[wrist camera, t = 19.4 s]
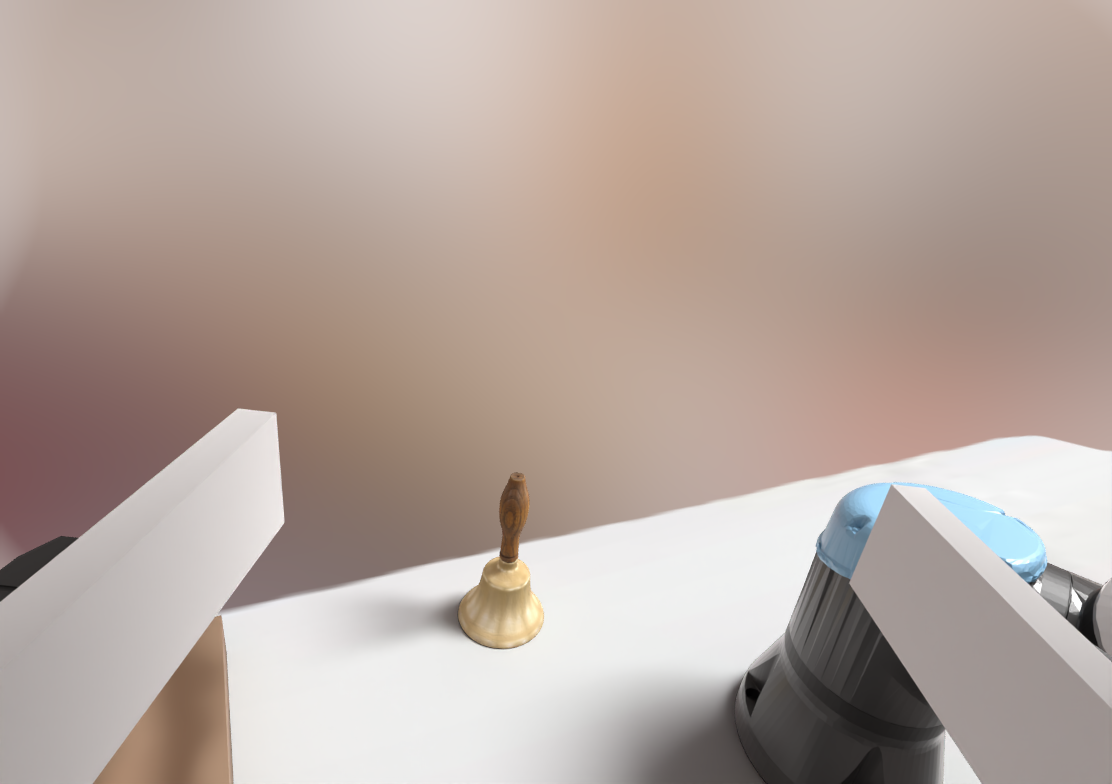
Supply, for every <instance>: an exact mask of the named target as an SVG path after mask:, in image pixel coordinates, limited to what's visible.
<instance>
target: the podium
mask: <svg viewBox="0 0 1112 784" xmlns="http://www.w3.org/2000/svg"><path fill="white" fill-rule="evenodd" d="M93 784H233V766H232V747H231V728H230V710H229V691H228V672H227V654H226V645H225V638H224V631H223V624H222V617H221V616H217V617H215V618H214V619H213V620H212V622H211V623H210V625H209V626H208V627H207V629H206V630H205V631H204V633H203V634H202V635H201V637H200V638H199V640H198V641H197V642H196V644H195V645H194V646H193V648H192V649H191V650H190V652H189V653H188V655H187V656H186V657H185V659H184V660H183V661H182V663H181V664H180V665H179V667H178V668H177V669H176V671H175V672H174V674H173V675H172V676H171V678H170V679H169V680H168V682H167V683H166V684H165V686H164V687H163V689H162V690H161V691H160V693H159V694H158V695H157V697H156V698H155V699H154V701H153V702H152V704H151V705H150V706H149V708H148V709H147V710H146V712H145V713H144V714H143V716H142V717H141V719H140V720H139V721H138V723H137V724H136V725H135V727H134V728H133V729H132V731H131V732H130V734H129V735H128V736H127V738H126V739H125V740H124V742H123V743H122V744H121V746H120V747H119V749H118V750H117V751H116V753H115V754H114V755H113V757H112V758H111V759H110V761H109V762H108V763H107V765H106V766H105V768H104V769H103V770H102V772H101V773H100V774H99V776H98V777H97V778H96V780H95V781H94V783H93Z"/></svg>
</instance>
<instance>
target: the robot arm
mask: <svg viewBox="0 0 1112 784" xmlns="http://www.w3.org/2000/svg"><path fill="white" fill-rule="evenodd" d="M283 524H284V511H283V498H282V485H281V471H280V458H279V445H278V432H277V419H276V413H272V412H264V411H254V410H246V409H237V410H236V411H235V412H233V413H232V414H231V415H230V416H228V417H227V418H226V419H225V420H224V421H222V422H221V423H220V424H219V425H217V426H216V427H215V428H214V429H212V430H211V431H210V432H209V433H208V434H206V435H205V436H204V437H203V438H201V439H200V440H199V441H198V442H196V443H195V444H194V445H193V446H192V447H191V448H189V449H188V450H187V451H185V452H184V453H183V454H182V455H180V456H179V457H178V458H177V459H176V460H174V461H173V462H172V463H171V464H169V465H168V466H167V467H166V468H164V469H163V470H162V471H161V472H160V473H158V474H157V475H156V476H155V477H153V478H152V479H151V480H150V481H148V482H147V483H146V484H145V485H144V486H142V487H141V488H140V489H139V490H137V491H136V492H135V493H134V494H132V495H131V496H130V497H129V498H128V499H126V500H125V501H124V502H123V503H121V504H120V505H119V506H118V507H116V508H115V509H114V510H113V511H112V512H110V513H109V514H108V515H107V516H105V517H104V518H103V519H102V520H101V521H99V522H98V523H97V524H96V525H94V526H93V527H92V528H91V529H89V530H88V531H87V532H86V533H84V534H83V535H82V536H81V537H80V538H74V537H65V536H60V537H58V538H56V539H54V540H52V541H50V542H48V543H45V544H44V545H41V546H39V547H37V548H35V549H33V550H31V551H29V552H27V553H25V554H23V555H21V556H18V557H17V558H16V559H14V560H13V561H12V562H10V563H9V564H8V565H6V566H5V567H4V568H2V569H1V570H0V784H93V783H94V781H95V780H96V778H97V777H98V776H99V774H100V773H101V772H102V770H103V769H104V768H105V766H106V765H107V763H108V762H109V761H110V759H111V758H112V757H113V755H114V754H115V753H116V751H117V750H118V749H119V747H120V746H121V744H122V743H123V742H124V740H125V739H126V738H127V736H128V735H129V734H130V732H131V731H132V729H133V728H134V727H135V725H136V724H137V723H138V721H139V720H140V719H141V717H142V716H143V714H144V713H145V712H146V710H147V709H148V708H149V706H150V705H151V704H152V702H153V701H154V699H155V698H156V697H157V695H158V694H159V693H160V691H161V690H162V689H163V687H164V686H165V684H166V683H167V682H168V680H169V679H170V678H171V676H172V675H173V674H174V672H175V671H176V669H177V668H178V667H179V665H180V664H181V663H182V661H183V660H184V659H185V657H186V656H187V655H188V653H189V652H190V650H191V649H192V648H193V646H194V645H195V644H196V642H197V641H198V640H199V638H200V637H201V635H202V634H203V633H204V631H205V630H206V629H207V627H208V626H209V625H210V623H211V622H212V620H213V619H214V618H215V616H216V615H217V614H218V612H219V611H220V610H221V608H222V607H223V605H224V604H225V603H226V601H227V600H228V599H229V597H230V596H231V595H232V593H233V592H234V590H235V589H236V588H237V586H238V585H239V584H240V582H241V581H242V579H243V578H244V577H245V575H246V574H247V573H248V571H249V570H250V569H251V567H252V566H253V565H254V563H255V562H256V560H257V559H258V558H259V556H260V555H261V554H262V552H263V551H264V549H265V548H266V547H267V546H268V544H269V543H270V541H271V540H272V539H273V537H274V536H275V535H276V533H277V532H278V530H279V529H280V528H281V526H282V525H283ZM816 547H817V550H816V554H815V557H814V560H813V562H812V565H811V568H810V570H809V573H808V575H807V578H806V581H805V583H804V586H803V589H802V591H801V594H800V596H799V598H798V601H797V603H796V606H795V608H794V611H793V613H792V616H791V619H790V622H789V624H788V627H787V629H786V632H785V633H784V634H783V635H782V636H781V637H780V638H779V639H778V640H777V641H775V642H774V643H773V644H772V645H771V646H770V647H769V648H768V649H767V650H766V651H765V652H764V653H762V654H761V655H760V656H759V657H758V658H757V659H756V660H755V661H754V662H753V663H752V664H751V665H750V667H749V668H748V670H747V671H746V673H745V675H744V677H743V680H742V683H741V685H740V688H739V691H738V694H737V697H736V702H735V721H736V726H737V730H738V734H739V737H740V740H741V742H742V745H743V747H744V749H745V751H746V753H747V755H748V757H749V759H750V761H751V762H752V764H753V766H754V767H755V769H756V770H757V771H758V773H759V774H760V776H761V777H762V778H763V779H764V781H765V782H766V783H767V784H943V771H944V745H945V730H947V732H948V733H949V735H950V736H951V738H952V739H953V741H954V742H955V744H956V745H957V747H958V748H959V750H960V751H961V753H962V754H963V756H964V757H965V759H966V760H967V762H968V763H969V765H970V766H971V768H972V769H973V771H974V772H975V774H976V775H977V777H978V778H979V780H980V782H981V783H982V784H1112V578H1111V579H1110V580H1108V581H1107V582H1106V583H1105V584H1104V585H1101V584H1099V583H1096V582H1094V581H1091V580H1089V579H1086V578H1084V577H1082V576H1079V575H1077V574H1074V573H1072V572H1069V571H1066V570H1064V569H1061V568H1059V567H1057V566H1054V565H1052V564H1049V563H1047V557H1046V550H1045V546H1044V544H1043V542H1042V540H1041V539H1040V537H1039V536H1038V535H1037V534H1036V533H1035V532H1034V531H1033V530H1032V529H1031V528H1030V527H1029V526H1027V525H1026V524H1025V523H1023V522H1022V521H1020V520H1019V519H1017V518H1013V517H1009V516H1005V513H1004V511H1003V510H1001V509H1000V508H998V507H995V506H993V505H991V504H989V503H986V502H984V501H981V500H978V499H976V498H973V497H970V496H967V495H964V494H961V493H957V492H954V491H950V490H946V489H942V488H937V487H933V486H927V485H920V484H913V483H899V482H894V483H876V484H870V485H866V486H862V487H860V488H857V489H855V490H853V491H851V492H849V493H848V494H846V495H845V496H844V497H843V498H842V499H841V500H840V501H839V503H838V504H837V506H836V507H835V510H834V512H833V514H832V516H831V518H830V520H829V522H828V525H827V527H826V529H825V530H824V531H823V532H822V533H821V534H820V536H819V537H818V540H817V543H816Z"/></svg>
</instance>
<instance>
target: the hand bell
mask: <svg viewBox="0 0 1112 784" xmlns="http://www.w3.org/2000/svg"><path fill="white" fill-rule="evenodd" d="M528 511H529V494H528V490H527V487H526V481H525V476H524V474H522V473H517V472H516V473H512V474H511V476H510V479H509V481H508V483H507V485H506V487H505V489H504V491H503V494H502V496H501V500H500V508H499V515H500V523H501V527H502V533H503V537H502V544H501V551H500V557H496V558H494V559H492V560H490V561H489V562H488V563H487V564H486V565H485V567H484V569H483V573H482V577H481V580H480V583H479V585H477V586H475V587H474V588H473V589H471V590H470V591H469V592H468V593H467V594H466V595H465V596H464V598H463V599H462V601H461V603H460V605H459V610H458V618H459V622H460V625H461V627H462V629H463V630H464V631H465V633H466V634H467V635H468V636H469V637H470V638H471V639H473V640H474V641H476V642H478V643H480V644H482V645H484V646H488V647H492V648H501V649H503V648H506V649H507V648H515V647H518V646H520V645H523V644H525V643H527V642H529V641H530V640H532V639H533V638H534V637H535V636H536V635H537V634H538V632H539V631H540V629H541V627H542V625H543V621H544V612H543V608H542V606H541V603H540V601H539V600H538V598H537V597H536V595H535V594H534V593H533V592H532V591H531V588H530V572H529V569H528V567H527V566H526V564H525V563H524V562H522V561H521V560H519V559H518V548H519V537H520V533H521V531H522V529H523V527H524V525H525V522H526V519H527V516H528Z"/></svg>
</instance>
